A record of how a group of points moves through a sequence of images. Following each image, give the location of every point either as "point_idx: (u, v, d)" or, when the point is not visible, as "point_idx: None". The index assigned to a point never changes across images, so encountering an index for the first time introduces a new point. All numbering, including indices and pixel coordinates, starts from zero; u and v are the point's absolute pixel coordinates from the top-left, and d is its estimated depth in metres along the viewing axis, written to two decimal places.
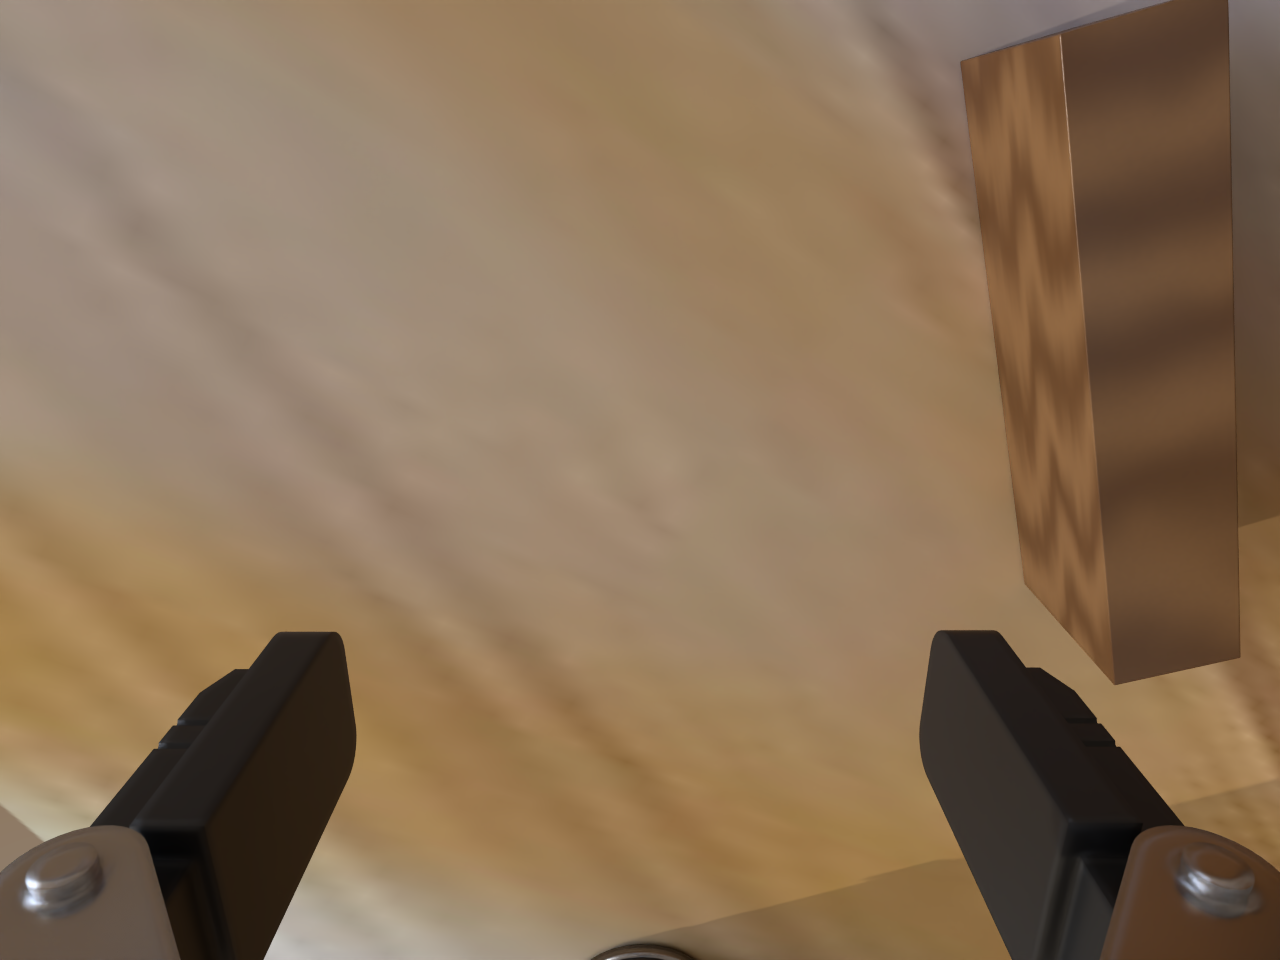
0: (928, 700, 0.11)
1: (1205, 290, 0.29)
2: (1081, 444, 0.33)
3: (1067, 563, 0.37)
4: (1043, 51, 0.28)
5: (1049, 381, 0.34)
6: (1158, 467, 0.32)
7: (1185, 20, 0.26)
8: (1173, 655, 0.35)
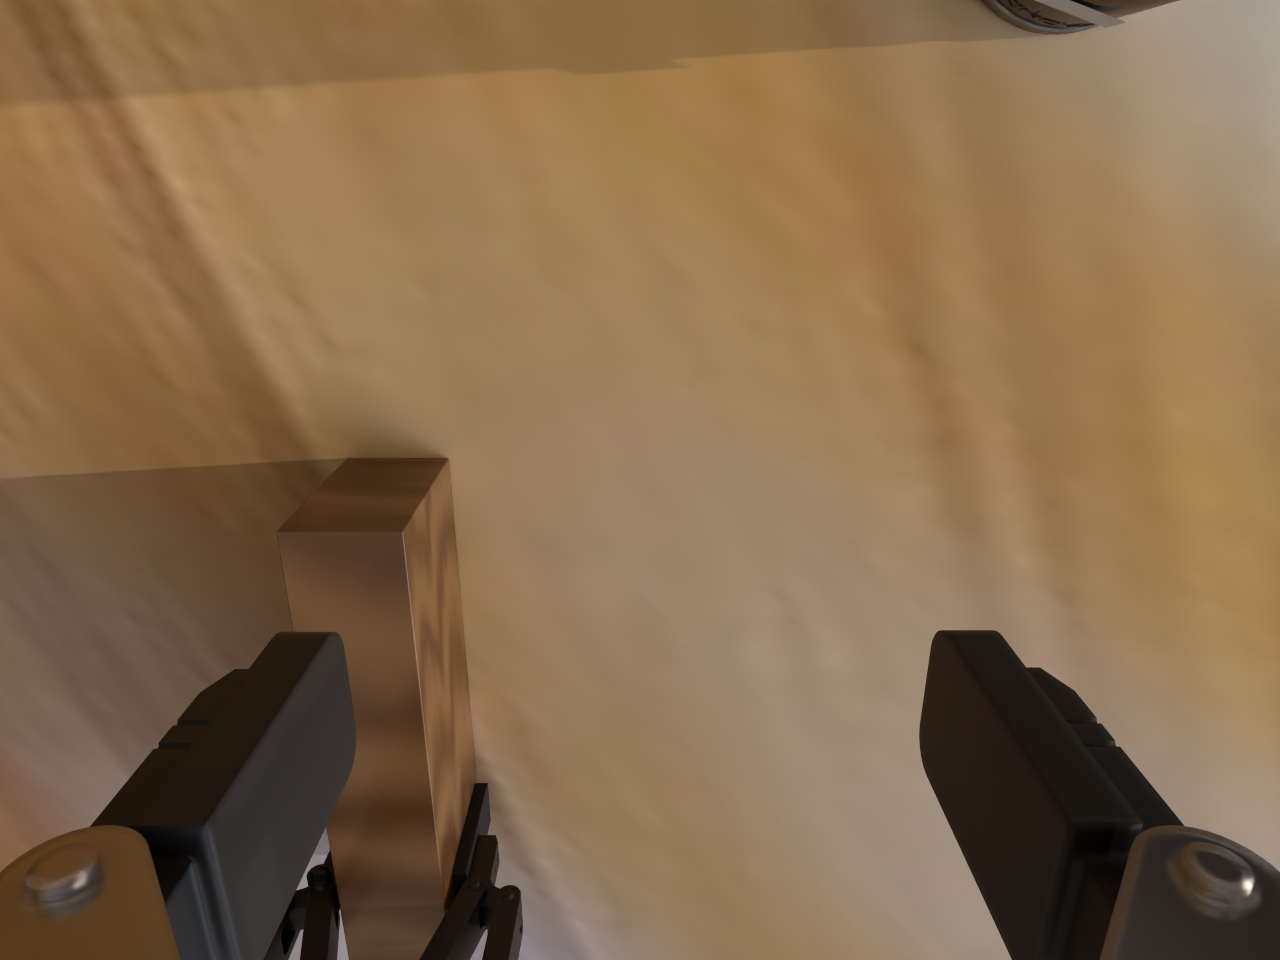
0: (928, 700, 0.11)
1: (348, 837, 0.40)
2: (432, 733, 0.39)
3: (431, 581, 0.39)
4: None
5: (446, 737, 0.42)
6: (373, 726, 0.38)
7: None
8: (344, 550, 0.34)
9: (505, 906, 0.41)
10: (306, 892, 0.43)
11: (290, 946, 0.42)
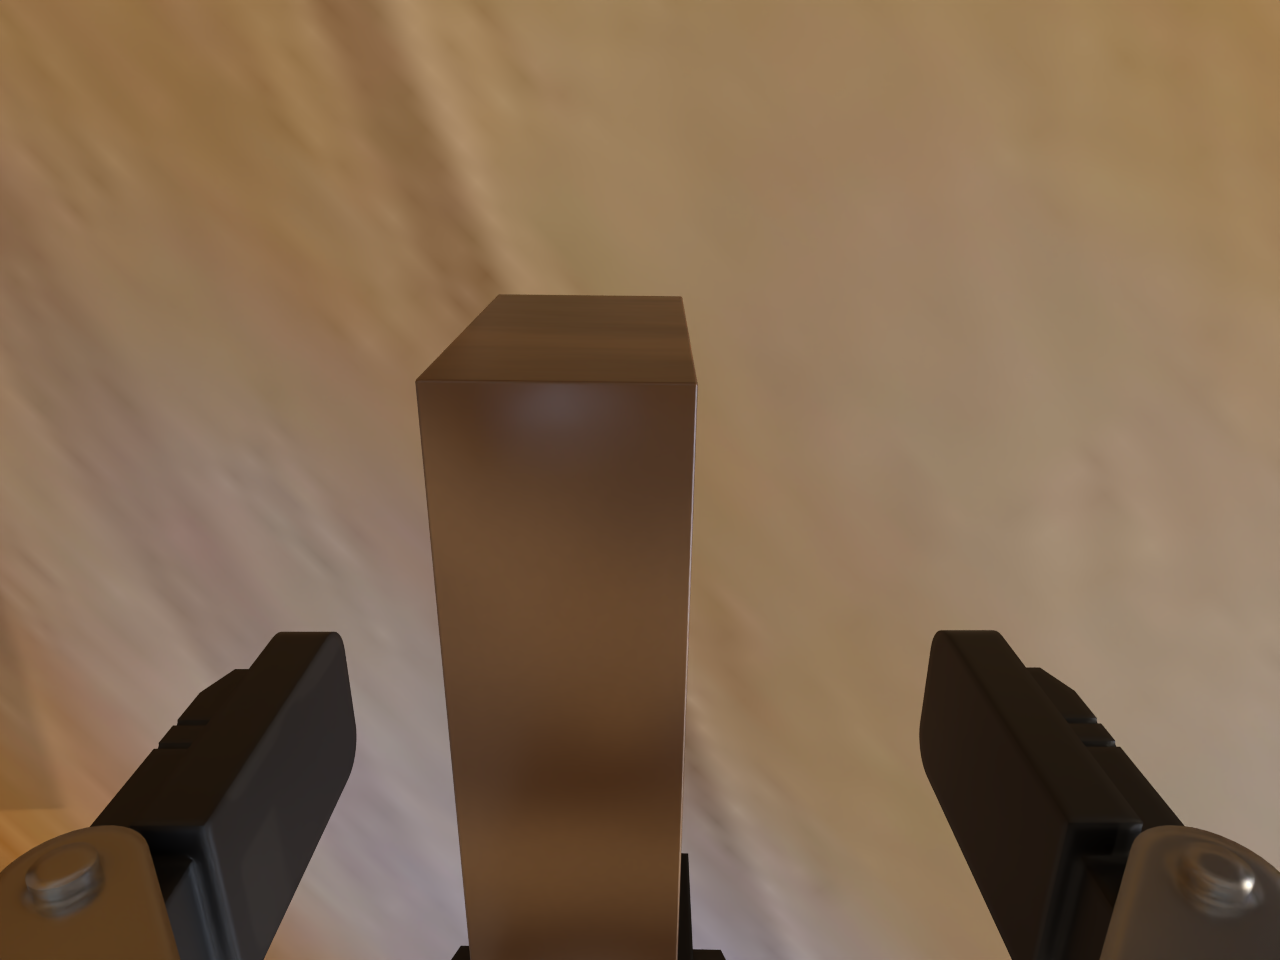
0: (928, 700, 0.11)
1: None
2: None
3: None
4: None
5: None
6: (581, 793, 0.19)
7: None
8: (562, 426, 0.16)
9: None
10: None
11: None
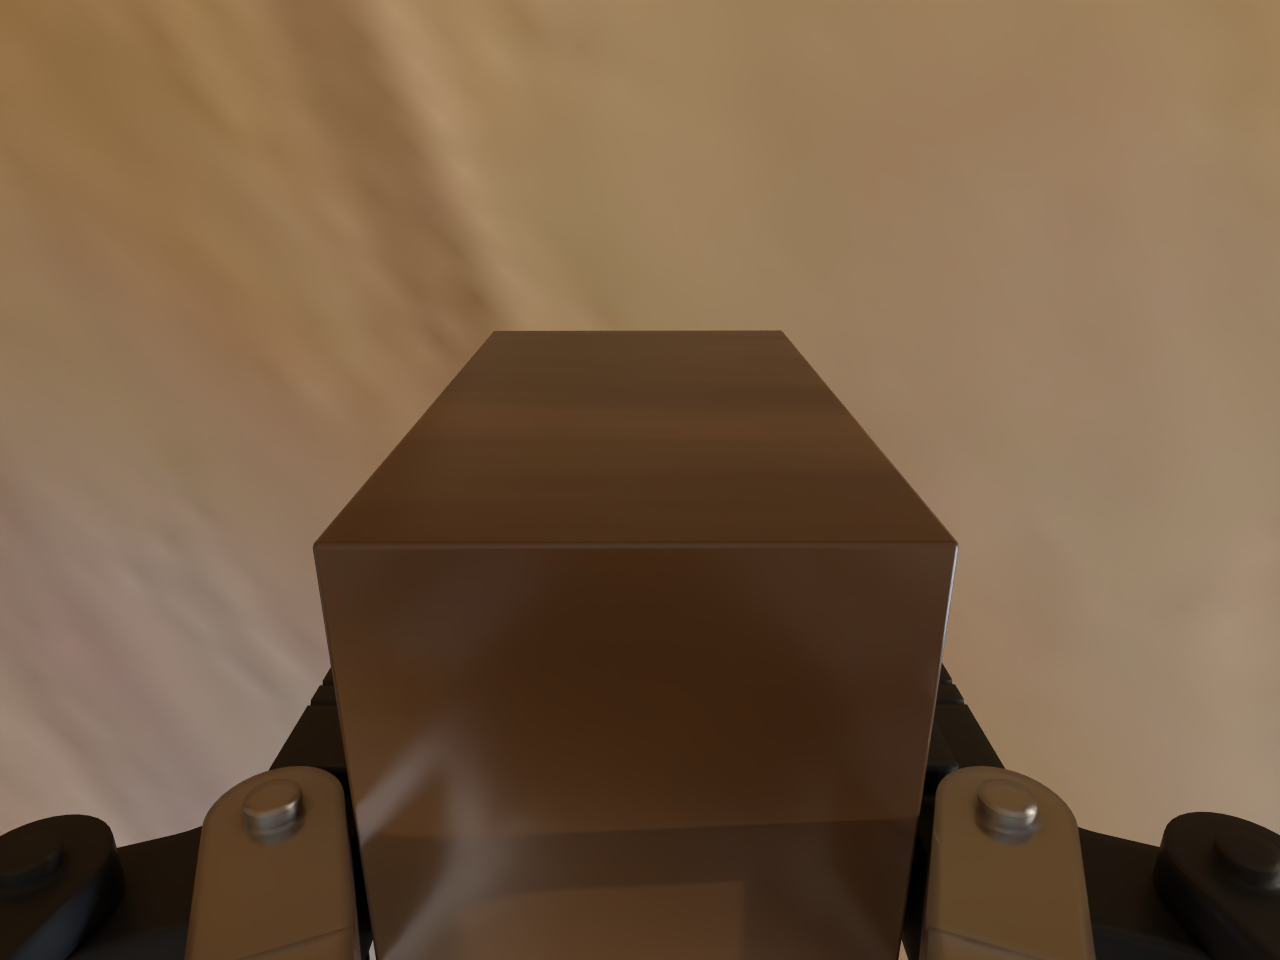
0: None
1: None
2: None
3: None
4: None
5: None
6: None
7: None
8: (648, 637, 0.07)
9: None
10: None
11: None
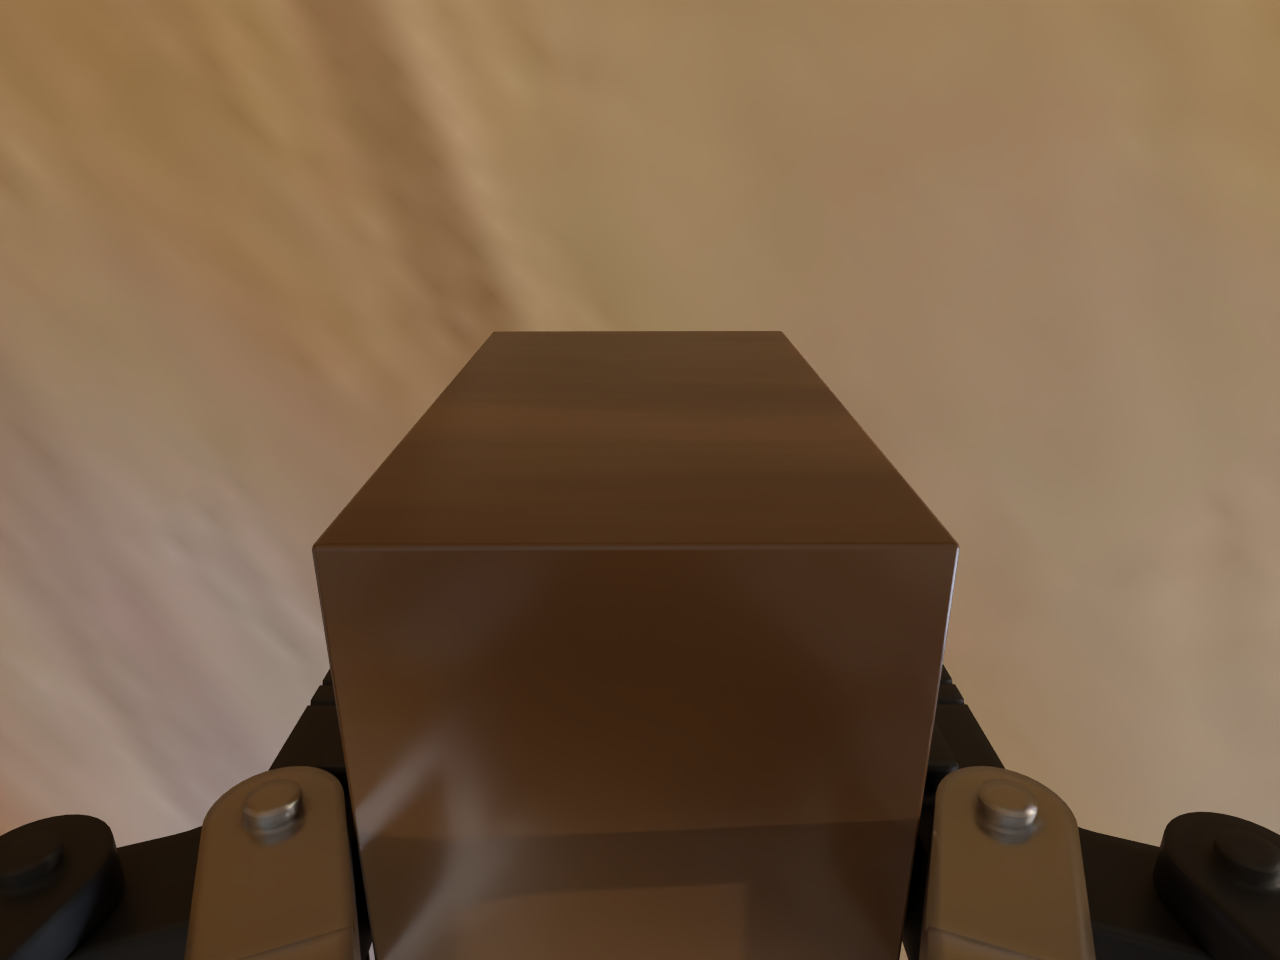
0: None
1: None
2: None
3: None
4: None
5: None
6: None
7: None
8: (647, 640, 0.07)
9: None
10: None
11: None
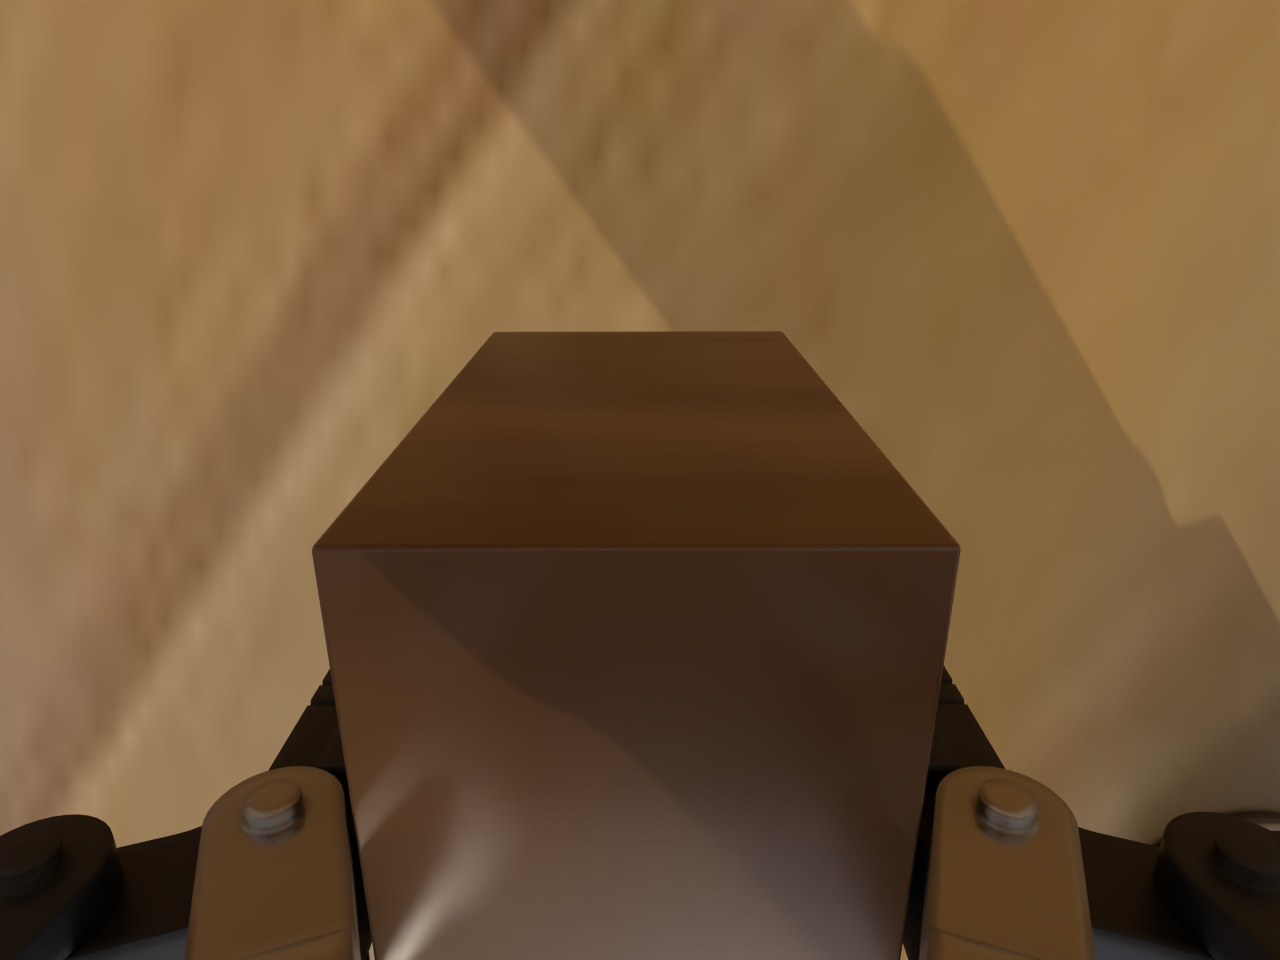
0: None
1: None
2: None
3: None
4: None
5: None
6: None
7: None
8: (648, 641, 0.07)
9: None
10: None
11: None
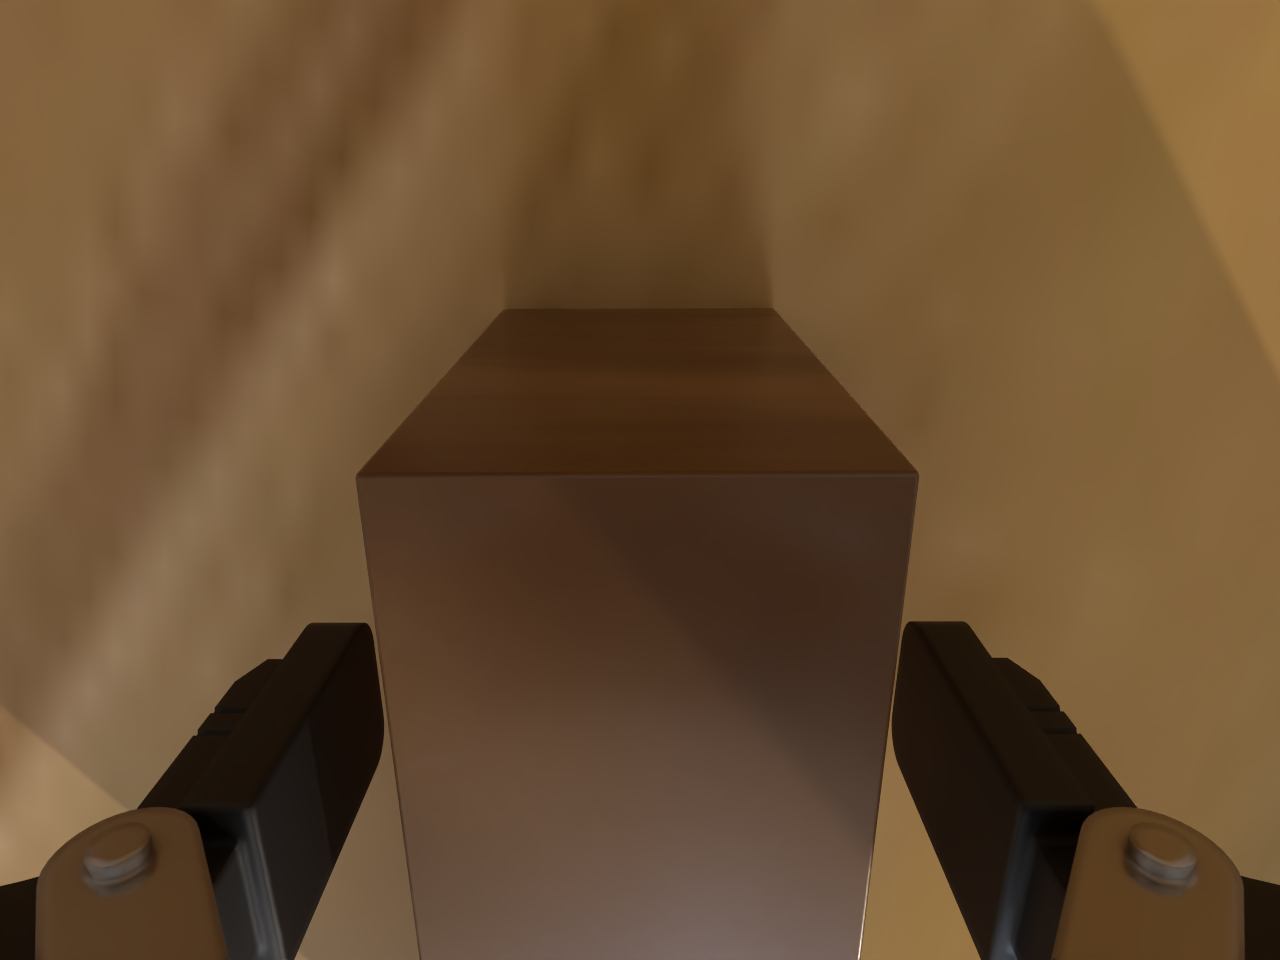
0: (899, 690, 0.12)
1: None
2: None
3: None
4: None
5: None
6: None
7: None
8: (648, 558, 0.08)
9: None
10: None
11: None
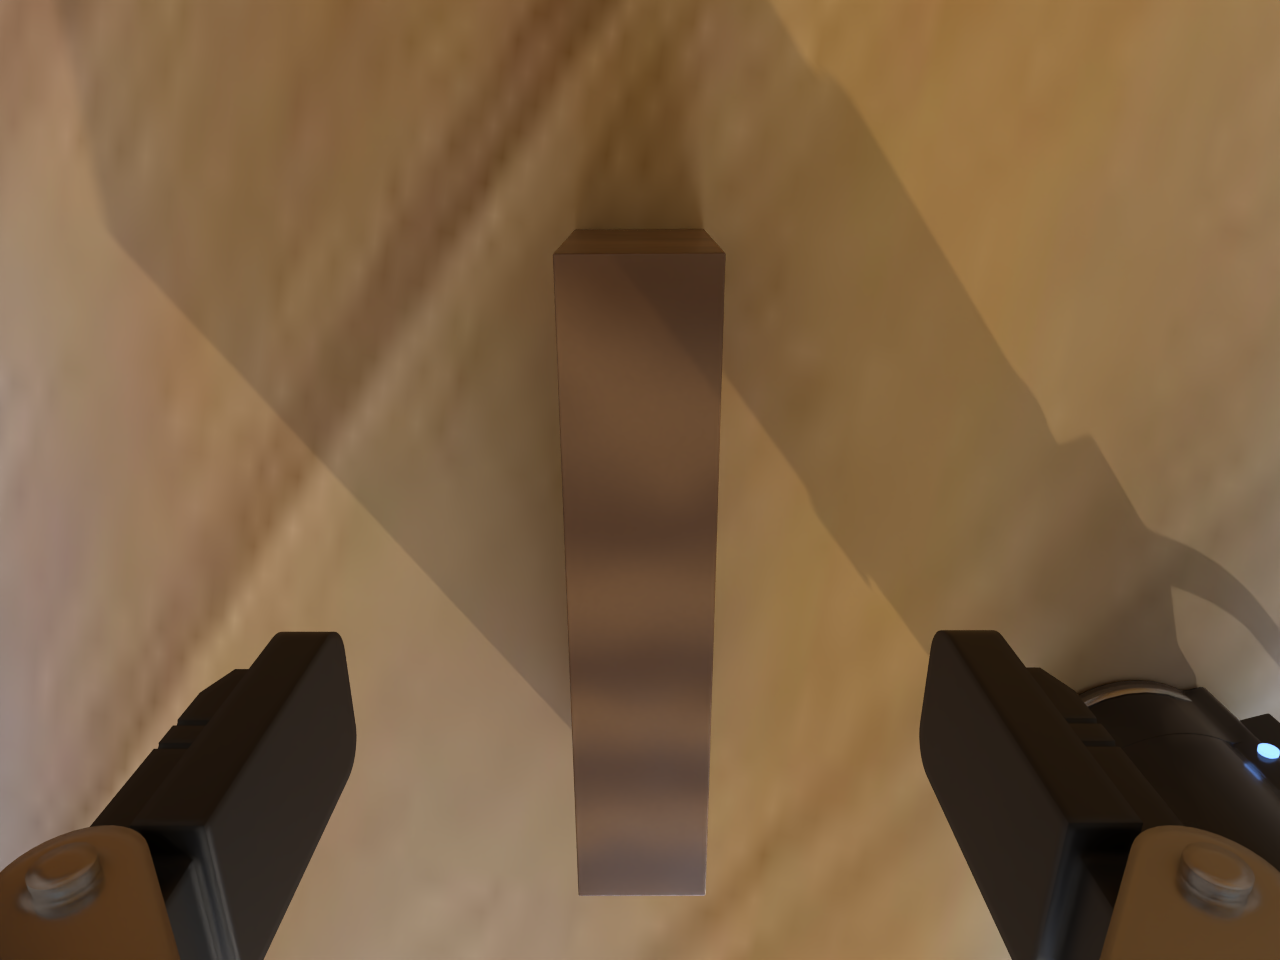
0: (928, 700, 0.11)
1: (597, 700, 0.31)
2: None
3: None
4: None
5: None
6: (649, 543, 0.28)
7: (610, 883, 0.34)
8: (642, 282, 0.25)
9: None
10: None
11: None
